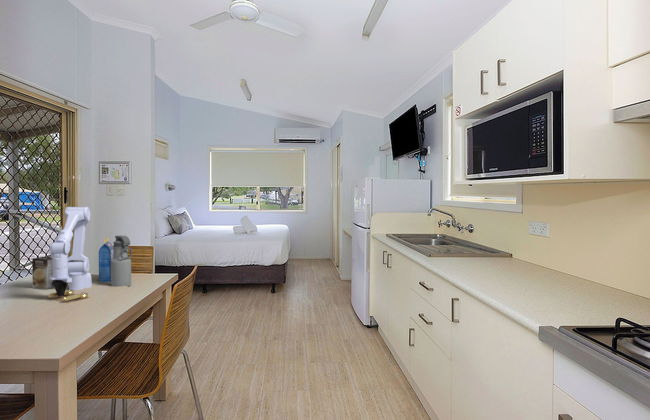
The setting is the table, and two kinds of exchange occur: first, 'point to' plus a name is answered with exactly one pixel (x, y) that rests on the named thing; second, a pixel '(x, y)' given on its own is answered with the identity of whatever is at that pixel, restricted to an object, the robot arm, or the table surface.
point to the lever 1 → (67, 293)
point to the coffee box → (42, 272)
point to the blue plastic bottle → (105, 261)
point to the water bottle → (121, 262)
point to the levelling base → (59, 298)
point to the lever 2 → (75, 296)
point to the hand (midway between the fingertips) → (60, 295)
